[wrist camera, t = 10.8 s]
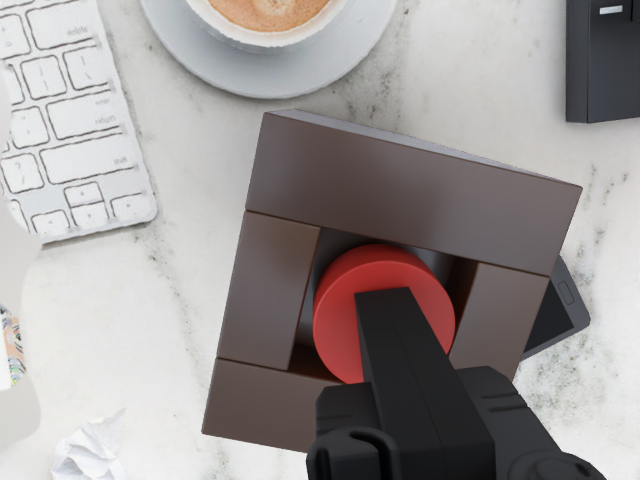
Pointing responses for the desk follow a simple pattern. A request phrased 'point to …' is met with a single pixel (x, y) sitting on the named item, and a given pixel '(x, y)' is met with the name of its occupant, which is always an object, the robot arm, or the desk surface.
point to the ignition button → (369, 275)
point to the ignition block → (364, 229)
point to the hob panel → (602, 61)
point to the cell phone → (557, 312)
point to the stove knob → (636, 10)
